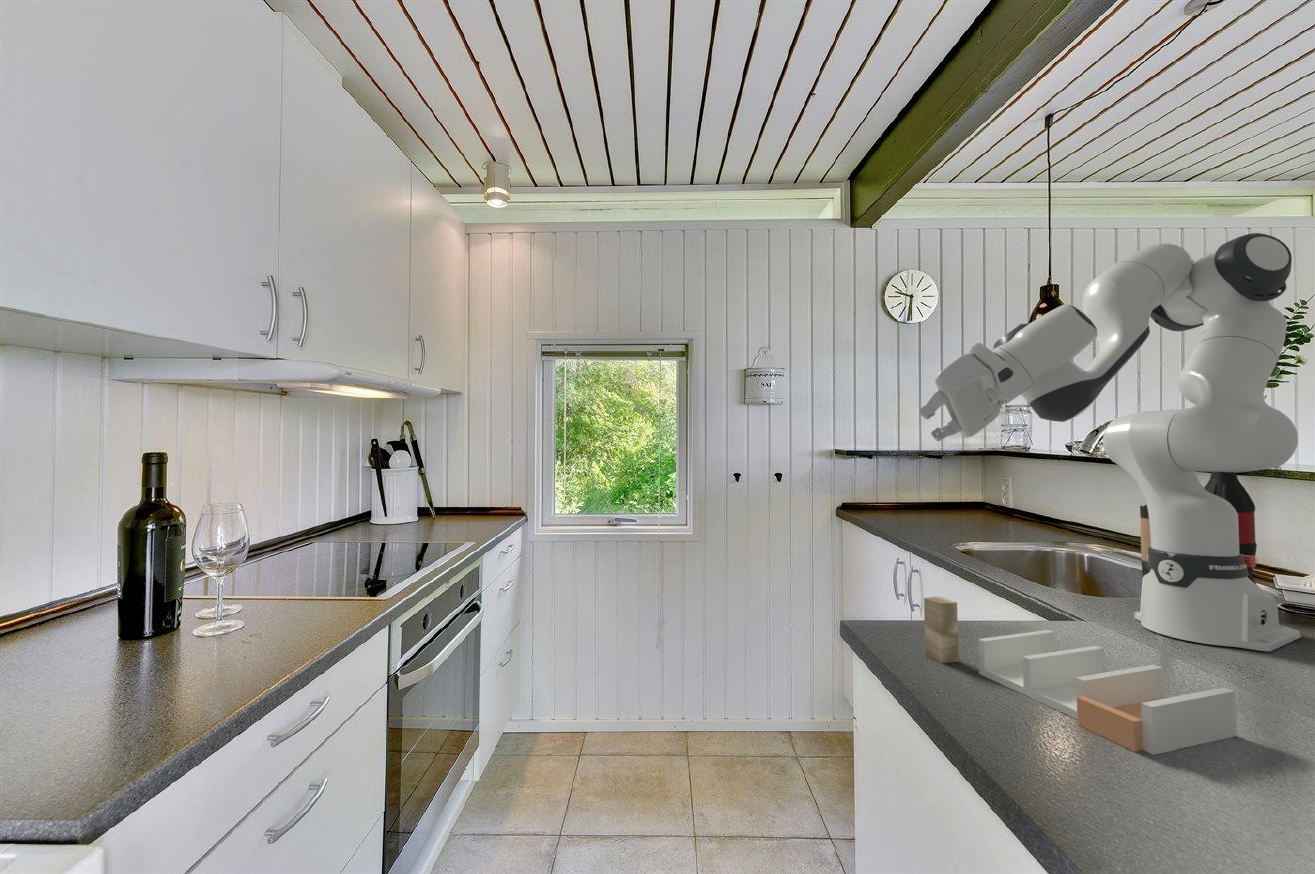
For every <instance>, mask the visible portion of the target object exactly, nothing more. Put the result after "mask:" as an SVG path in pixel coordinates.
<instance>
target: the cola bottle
mask: <svg viewBox="0 0 1315 874" xmlns="http://www.w3.org/2000/svg"><path fill="white" fill-rule="evenodd" d="M1203 487H1204V488H1205V489H1206V490H1207V491H1208V492H1210V493H1212V494H1214V495H1217V496H1219V497H1221V498H1223V499H1225V500H1226V501H1228V502H1229V503H1230V504H1231V505H1232V506H1233V507H1234V508H1235V510H1236V512H1237V514H1238V528H1239V554H1243V555H1252V556H1255V557H1256V554H1257V545H1258V544H1257V542H1256V523H1255V522H1256V518H1255V511H1256V505H1255V503H1254V501H1253V499H1252V497H1251V495H1250V494H1249V492H1248V491H1247V490H1246V488H1245V487H1244V486H1243V485H1242V483H1241V482H1240V480H1239V478H1238V475H1237V472H1210V477H1209V479H1208V481H1207V483H1206V484H1205V485H1204V486H1203ZM1253 569H1254V568H1253V567H1248V566H1247V570H1248V573H1249V576H1247V577H1248V578H1249V579H1250V580H1251V581H1252V582H1254V583H1255V584H1256V585H1257V583H1256V581H1255V578H1254V576H1253ZM1257 586H1258V585H1257Z"/></svg>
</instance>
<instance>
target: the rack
mask: <svg viewBox="0 0 1315 874" xmlns="http://www.w3.org/2000/svg"><path fill="white" fill-rule="evenodd" d="M977 642H978V643H977V644H978V672H979V675H981V676H983V677H985V678H987V679H989V680H991V681H994V682H995V683H998V684H999V685H1002V686H1004V687H1007V688H1009V689H1010V690H1013V691H1015V692H1016V693H1019V694H1022V695H1024V696H1025V697H1028V698H1030V699H1032V700H1034V701H1037V702H1039V703H1041V704H1043V705H1045V706H1047V707H1049V708H1052V709H1053V710H1056V711H1058V712H1059V713H1060V712H1061V713H1062V712H1063V713H1062V714H1064V713H1065V714H1064V715H1066V714H1067V715H1066V716H1069V717H1071V718H1074V719H1076V720H1077V726H1078V727H1079V726H1080V727H1082V728H1084V729H1086V730H1088V731H1090V732H1092V733H1094V734H1096V735H1099V736H1101V737H1102V738H1105V739H1107V740H1109V741H1111V742H1112V743H1115V744H1117V745H1119V746H1121V747H1123V748H1125V749H1128V750H1130V751H1132V752H1134V753H1136V752H1141V751H1144V752H1146V753H1148V754H1150V755H1153V756H1156V755H1160V754H1163V753H1168V752H1172V751H1173V752H1174V751H1176V750H1177V749H1178V750H1181V749H1180V748H1182V749H1185V748H1184V747H1187V748H1189V747H1188V746H1191V747H1193V746H1192V745H1195V746H1197V745H1196V744H1200V743H1204V744H1209V743H1213V742H1216V741H1222V740H1226V739H1230V738H1234V737H1237V736H1238V735H1237V717H1236V715H1237V714H1236V712H1237V711H1236V691H1235V690H1232V689H1230V688H1227V687H1218V688H1214V689H1213V688H1212V689H1209V690H1208V689H1207V690H1203V691H1198V692H1197V691H1196V692H1193V693H1187V694H1182V695H1175V696H1172V697H1167V698H1166V697H1165V695H1164V670H1163V667H1162V666H1159V665H1156V664H1149V665H1148V664H1147V665H1143V666H1136V667H1131V668H1123V669H1117V670H1112V671H1106V672H1105V660H1104V659H1105V658H1104V656H1105V655H1104V648H1103V647H1101V646H1098V645H1092V646H1084V647H1077V648H1071V649H1064V650H1057V651H1055V632H1054V631H1052V630H1048V629H1046V630H1045V629H1043V630H1037V631H1031V632H1021V633H1015V634H1014V633H1013V634H1007V635H999V636H991V637H985V638H984V637H983V638H978V641H977ZM1164 697H1165V698H1164ZM1200 745H1201V744H1200ZM1178 750H1177V751H1178Z"/></svg>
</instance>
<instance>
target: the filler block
mask: <svg viewBox="0 0 1315 874" xmlns="http://www.w3.org/2000/svg"><path fill="white" fill-rule="evenodd" d="M923 607H924V610H923V612H924V613H923V614H924V615H923V616H924V648H925V649H924V651H925V657H928V658H930V659H932V660H934V661H937V662H938V663H940V664H948V663H949V664H950V663H957V662H959V659H960V658H959V629H958V628H959V626H958V625H959V623H958V622H959V621H958V620H959V619H958V602H957V601H955V600H951V599H949V598H945V597H942V596H930V597H923Z"/></svg>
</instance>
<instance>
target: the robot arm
mask: <svg viewBox="0 0 1315 874" xmlns="http://www.w3.org/2000/svg"><path fill="white" fill-rule="evenodd" d="M1292 258H1293V257H1292V253H1291V250H1290V249H1289V247H1288V246H1287V244H1285V243H1284V241H1282V240H1280V239H1279V238H1277V237H1275V236H1272V235H1270V234H1266V233H1259V232H1252V233H1248V234H1244V235H1241V236H1238V237H1236V238H1233V239H1231V240H1229V241H1226V242H1225V243H1222V244H1221V245H1220V246H1219V247H1218V248H1217V249H1215V250H1213V251H1211V252H1209V253H1207V254H1206V255H1204V256H1203V257H1200V258H1199V259H1197V260H1196V261H1195V260H1194V259H1192V258H1191V256H1190V254H1189V252H1188V251H1186V249H1184V248H1183V247H1182V246H1178V245H1176V244H1174V243H1173V244H1172V243H1156V244H1153V245H1149V246H1147V247H1144V248H1142V249H1140V250H1138V251H1136V252H1133V253H1131V254H1129V255H1127V256H1125V257H1124V258H1122V259H1120V260H1118V261H1117V262H1115V263H1113V265H1111V266H1109V267H1108V268H1106V269H1105V270H1103V271H1102V272H1101V273H1099V274H1098V275H1097V276H1096V277H1094V279H1093V280H1092V281H1091V282H1090V283H1088V285H1087V286H1086V288H1085V290H1084V291H1083V292H1084V293H1083V295H1082V300H1081V301H1082V302H1081V304H1082V310H1080V309H1078V308H1077V307H1075V306H1073V305H1070V304H1066V303H1064V304H1062V305H1060V306H1058V307H1056V308H1054V309H1052V310H1050V311H1048V312H1047V313H1044V314H1043V315H1041V316H1039V317H1038V318H1036V319H1034V320H1033V321H1032V322H1030V323H1028V322H1027V323H1020V324H1019V325H1018V326H1016V327H1015V328H1013V329H1012V330H1011V331H1009V332H1008V333H1007V334H1005V335H1004V336H1002V337H1001V338H999V339H997V340H996V341H995V343H994V344H993V349H992V350H991V349H990V348H988V347H987V346H986V345H984V344H982V343H981V342H977V343H974V344H973V345H972V346H971V347H970V348H969V350H968V352H969V353H965V354H963V355H960V356H959V357H958V358H956V359H955V360H953V362H951V363H950V364H948V365H947V366H946V367H944V368H943V369H942V370H941V371H940V372H939V373H937V375H936V377H935V379H934V383H935V384H936V387H937V389H938V391H936V392H935V393H933V394H932V396H931V397H930V399H929V400H928V402H927V403H926V404H925V405H923V406H922V407H920V409H919V410H918V411H919V413H920V415H921V417H923V419H924V420H929V419H931V417H934V416H935V415H936V412H937V410H939V409H940V408H941V406H942V405H943V406H945V407H946V409H947V412H948V413H949V417H950V419H951V420H949V422H946V423H947V425H944V426H942V427H940V428H939V427H938V426H937V427H936V428H935V429H934V430H932V431H931V432H930V434H931V436H932V438H933V439H934V440H935V441H936V442H940V441H942V440H944V439H945V438H947V437H951V436H955V435H957V434H958V433H960V434H961V435H962V436H963V437H965V438H967V439H968V438H970V437H973V436H975V435H977V434H978V433H980V431H982V430H983V429H984V428H986V427H987V426H989V425H990V424H991V423H992V422H993V421H994V420H995V419H997V417H999V416H1000V413H1001V408H1002V406H1004V405H1005V404H1009V403H1010V402H1013V400H1014V399H1016V398H1018V397H1019V396H1022V398H1024V400H1026V402H1027V403H1028V404H1029V407H1031V408H1032V410H1033V412H1035V414H1036V415H1037V416H1038V418H1039V419H1043V420H1046V421H1050V422H1059V423H1060V422H1061V423H1064V422H1067V421H1069V420H1072V419H1075V418H1076V417H1078V416H1080V415H1081V414H1082V413H1084V412H1085V411H1087V409H1089V408H1090V407H1091V405H1092V404H1093V403H1094V401H1096V399H1097V398H1098V397H1099V395H1100V394H1101V392H1102V391H1103V389H1104V388H1105V387H1106V386H1107V385H1108V383H1109V382H1111V380H1112V379H1113V378H1114V377H1115V376H1116V374H1118V373H1119V372H1120V370H1121V369H1122V368H1123V367H1124V366H1125V365H1126V364H1127V363H1128V361H1129V360H1130V359H1131V358H1132V357H1133V356H1134V355H1135V353H1137V352H1138V351H1139V349H1140V348H1141V347H1142V345H1144V343H1145V342H1146V340H1147V339H1148V337H1149V335H1150V334H1151V329H1150V324H1149V323H1150V318H1151V319H1152V321H1154V323H1155V324H1157V325H1158V326H1160V327H1162V328H1164V329H1165V330H1168V331H1171V332H1184V331H1189V330H1192V329H1195V328H1198V327H1202V326H1203V328H1202V329H1203V330H1202V335H1201V336H1200V337H1199V339H1198V341H1197V342H1196V344H1195V346H1194V347H1193V349H1192V351H1191V353H1190V355H1189V357H1188V359H1187V360H1186V361H1185V364H1184V366H1183V368H1182V370H1181V372H1179V375H1178V376H1177V388H1178V390H1179V392H1180V394H1181V396H1183V398H1185V399H1186V400H1187V401H1188V402H1190V403H1192V404H1194V405H1193V406H1191V407H1188V408H1180V409H1177V408H1176V409H1163V410H1149V411H1141V412H1135V413H1131V414H1128V415H1124V416H1119V417H1116V418H1114V419H1113V420H1111V422H1109V424H1108V425H1107V427H1106V428H1105V430H1104V432H1103V437H1102V445H1103V449H1104V451H1105V454H1106V455H1107V457H1108V458H1109V459H1110V460H1111V461H1112V462H1113V463H1115V464H1116V465H1117V466H1119V467H1121V468H1122V469H1123V470H1124V471H1126V472H1127V473H1128V474H1129V476H1130V477H1131V478H1132V479H1133V480H1134V482H1135V483H1136V485H1137V487H1138V488H1139V489H1140V491H1141V493H1142V496H1143V498H1144V501H1145V503H1146V504H1145V505H1147V508H1148V515H1149V524H1150V538H1151V547H1149V548H1148V554H1147V559H1148V566H1149V567H1150V568H1151V570H1150V572H1149V573H1148V574H1146V575H1145V576H1144V577H1143V576H1142V584H1141V585H1142V586H1141V599H1140V611H1134V615H1133V616H1134V619H1136V620H1138V621H1140V624H1141V626H1142V627H1144V628H1146V629H1147V630H1149V631H1152V632H1155V633H1156V634H1159V635H1164V636H1167V637H1170V638H1175V639H1178V640H1183V641H1189V642H1193V643H1194V642H1195V643H1199V644H1204V645H1211V646H1212V645H1213V646H1220V647H1221V646H1222V647H1234V648H1240V649H1241V648H1242V649H1247V650H1253V651H1259V652H1260V651H1262V652H1272V651H1274V650H1276V649H1279V648H1280V647H1283V646H1285V645H1288V644H1290V643H1292V642H1294V641H1295V640H1298V639H1300V638H1302V635H1301V631H1299V630H1297V629H1295V628H1292V627H1288V626H1287V625H1282V624H1280V618H1279V608H1278V604H1277V600H1275V598H1274V597H1272V596H1271V595H1270V594H1268V593H1267V592H1266V591H1264V590H1263V589H1262V588H1261V587H1260V586H1258V585H1256V584H1257V583H1256V584H1255V583H1254V582H1252V581H1251V580H1250V579H1249V578H1248V577H1247V576H1249V573H1248V570H1247V566H1248V567H1253V569H1254V568H1256V566H1257V564H1258V560H1257V559H1258V558H1256V555H1255V556H1252V555H1243V554H1239V528H1238V514H1237V512H1236V510H1235V508H1234V507H1233V506H1232V505H1231V504H1230V503H1229V502H1228V501H1226V500H1225V499H1223V498H1221V497H1219V496H1217V495H1214V494H1212V493H1210V492H1208V491H1207V490H1206V489H1205V488H1204V487H1205V486H1204V485H1202V484H1201V482H1200V480H1199V478H1198V476H1197V472H1203V473H1204V472H1207V473H1208V472H1210V473H1212V472H1236V473H1245V472H1246V473H1248V472H1254V471H1261V470H1268V469H1269V470H1270V469H1276V468H1279V467H1281V466H1283V465H1284V464H1286V463H1287V462H1288V461H1289V460H1290V459H1291V458H1292V457H1293V455H1294V454H1295V452H1296V449H1297V448H1298V443H1299V435H1298V434H1299V433H1298V431H1297V430H1298V429H1297V428H1296V426H1295V424H1294V423H1293V421H1292V420H1291V418H1289V417H1288V416H1287V415H1286V414H1285V413H1283V412H1281V410H1278V409H1277V408H1273V407H1272V406H1270V405H1268V404H1267V403H1266V402H1265V399H1264V398H1265V397H1264V394H1265V393H1264V392H1265V390H1266V389H1267V385H1268V382H1269V379H1270V377H1271V374H1272V373H1273V371H1274V369H1275V367H1276V365H1277V364H1278V363H1277V362H1278V360H1279V358H1280V356H1281V353H1282V350H1283V349H1284V348H1283V347H1284V344H1285V341H1286V340H1285V339H1286V335H1287V326H1288V323H1287V319H1286V317H1285V315H1284V314H1283V313H1282V312H1281V311H1280V310H1279V309H1277V308H1276V307H1275V306H1274V307H1273V306H1272V304H1271V302H1270V301H1272V300H1275V299H1277V298H1279V297H1280V296H1282V295H1283V294H1284V292H1285V291H1286V290H1287V282H1286V281H1287V279H1288V278H1289V276H1290V274H1291V272H1292V271H1291V270H1292V260H1293V259H1292ZM1082 311H1083V312H1082ZM1095 339H1096V340H1097V343H1098V353H1097V354H1096V356H1095V357H1094V358H1093V359H1092V360H1091V361H1090V362H1089V363H1088V364H1087V365H1086V367H1084V369H1083V368H1081V367H1080V366H1078V365H1077V363H1075V362H1074V361H1073V360H1072V359H1074V358H1075V357H1076V356H1077V355H1078V354H1080V353H1081V352H1082V351H1084V350H1085V349H1086V348H1087V347H1088V346H1089V345H1090V344H1091V343H1092V342H1094V341H1095Z"/></svg>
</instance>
